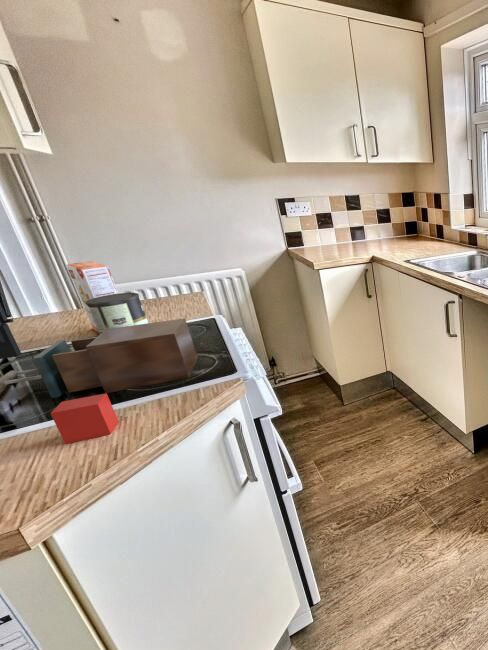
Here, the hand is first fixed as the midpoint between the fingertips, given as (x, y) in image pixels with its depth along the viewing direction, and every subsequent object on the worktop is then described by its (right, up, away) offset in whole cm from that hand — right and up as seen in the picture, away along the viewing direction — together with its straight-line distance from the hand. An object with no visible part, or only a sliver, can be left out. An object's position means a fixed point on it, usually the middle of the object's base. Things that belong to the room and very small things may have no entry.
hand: (10, 356), depth 84 cm
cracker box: (-16, +5, +39) cm, 43 cm away
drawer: (+7, -6, +6) cm, 12 cm away
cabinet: (+19, -5, +12) cm, 23 cm away
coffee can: (-1, +1, +29) cm, 29 cm away
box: (+27, -13, -10) cm, 32 cm away
